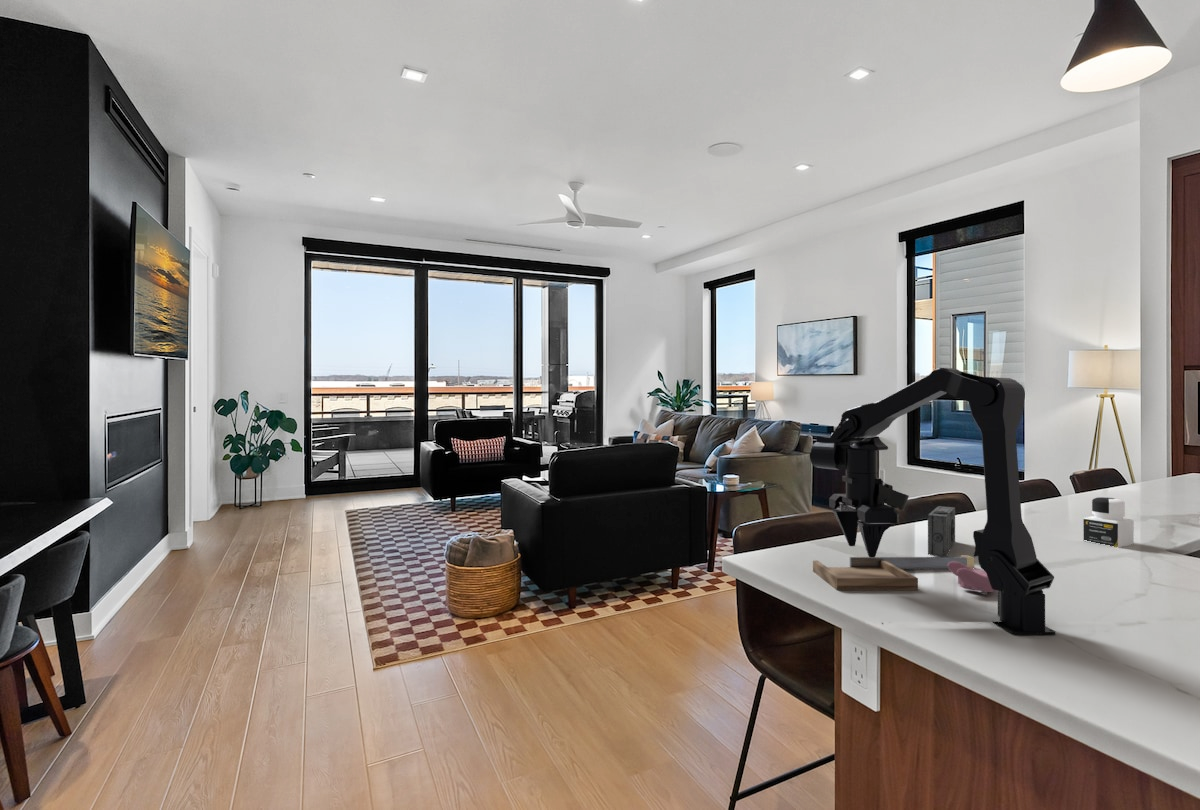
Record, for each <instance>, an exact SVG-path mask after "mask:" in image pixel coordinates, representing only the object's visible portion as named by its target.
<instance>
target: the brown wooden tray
mask: <svg viewBox="0 0 1200 810" xmlns="http://www.w3.org/2000/svg"><path fill="white" fill-rule="evenodd" d="M812 572H813V573H814V574H816V575H817V576H818V577H820V578H821V579H823V580H824V581H825V582H826V583H828V585H829V586H831V587H832V588H834V589H835V590H836V591H919V578H918V577H916V576H914V575H913V574H911V573H909V572H907V571H905V569H900V568H898V567H896V566H895V565H893V564H891V563H889V562H887V561H881V567H850V566H849V567H847V566H841V567H838V566H836V567H835V566H832V567H831V566H830V567H829V566H826V565H825V564H823V563H822V562H820V561H819V560H812Z"/></svg>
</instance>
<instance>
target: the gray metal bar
mask: <svg viewBox="0 0 1200 810" xmlns="http://www.w3.org/2000/svg"><path fill="white" fill-rule="evenodd" d="M881 561H887V562H889V563H891V564H893V565H895V566H896V567H898V568H900V569H902V570H949V568H948V566H947V565H948V563H949V562H951V561H957V562H960V563H962V564H964V565H966V566H968V567H970V568H974V569H975V557H974V556H971V555H969V554H961V555H960V556H946V557H943V556H875V557H869V556H849V567H881Z"/></svg>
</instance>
